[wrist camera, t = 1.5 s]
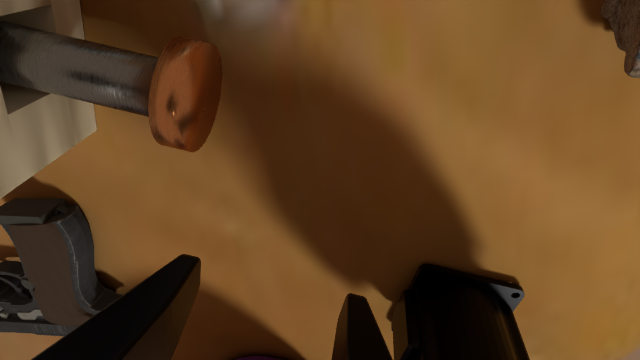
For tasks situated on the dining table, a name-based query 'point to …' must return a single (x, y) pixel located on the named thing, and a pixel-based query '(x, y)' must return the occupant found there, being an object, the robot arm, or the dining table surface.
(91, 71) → the pin
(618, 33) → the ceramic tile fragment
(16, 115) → the block
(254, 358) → the mug
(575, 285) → the dining table surface
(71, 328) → the handgun
